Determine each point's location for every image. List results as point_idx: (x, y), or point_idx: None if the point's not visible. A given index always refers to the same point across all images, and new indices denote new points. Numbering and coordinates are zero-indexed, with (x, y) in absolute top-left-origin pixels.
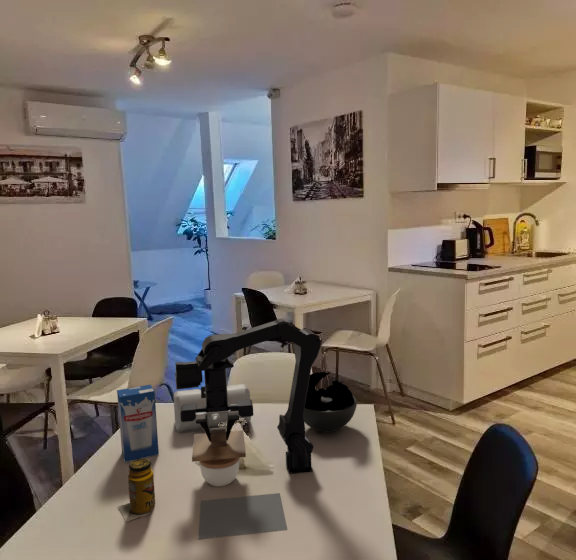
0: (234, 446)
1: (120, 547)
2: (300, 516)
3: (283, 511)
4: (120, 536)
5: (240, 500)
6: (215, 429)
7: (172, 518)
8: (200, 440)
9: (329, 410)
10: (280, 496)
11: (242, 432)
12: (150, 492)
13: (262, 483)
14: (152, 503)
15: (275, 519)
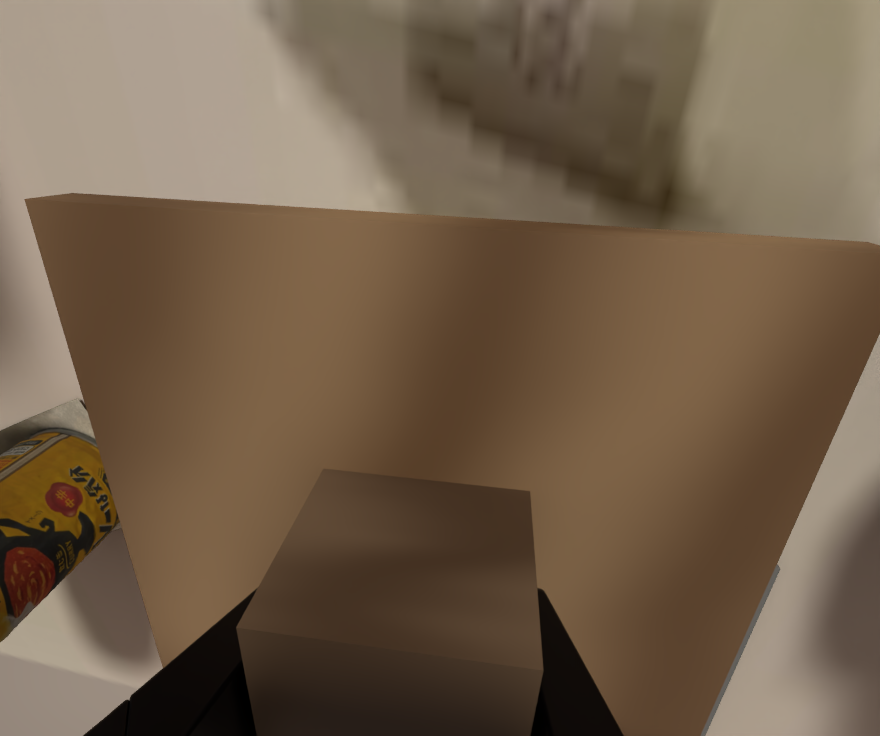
0: (598, 662)
1: (99, 654)
2: (788, 704)
3: (728, 682)
4: (72, 610)
5: None
6: (331, 682)
7: None
8: (173, 425)
9: None
10: (768, 593)
11: (854, 346)
12: (54, 586)
13: None
14: (109, 528)
15: None
